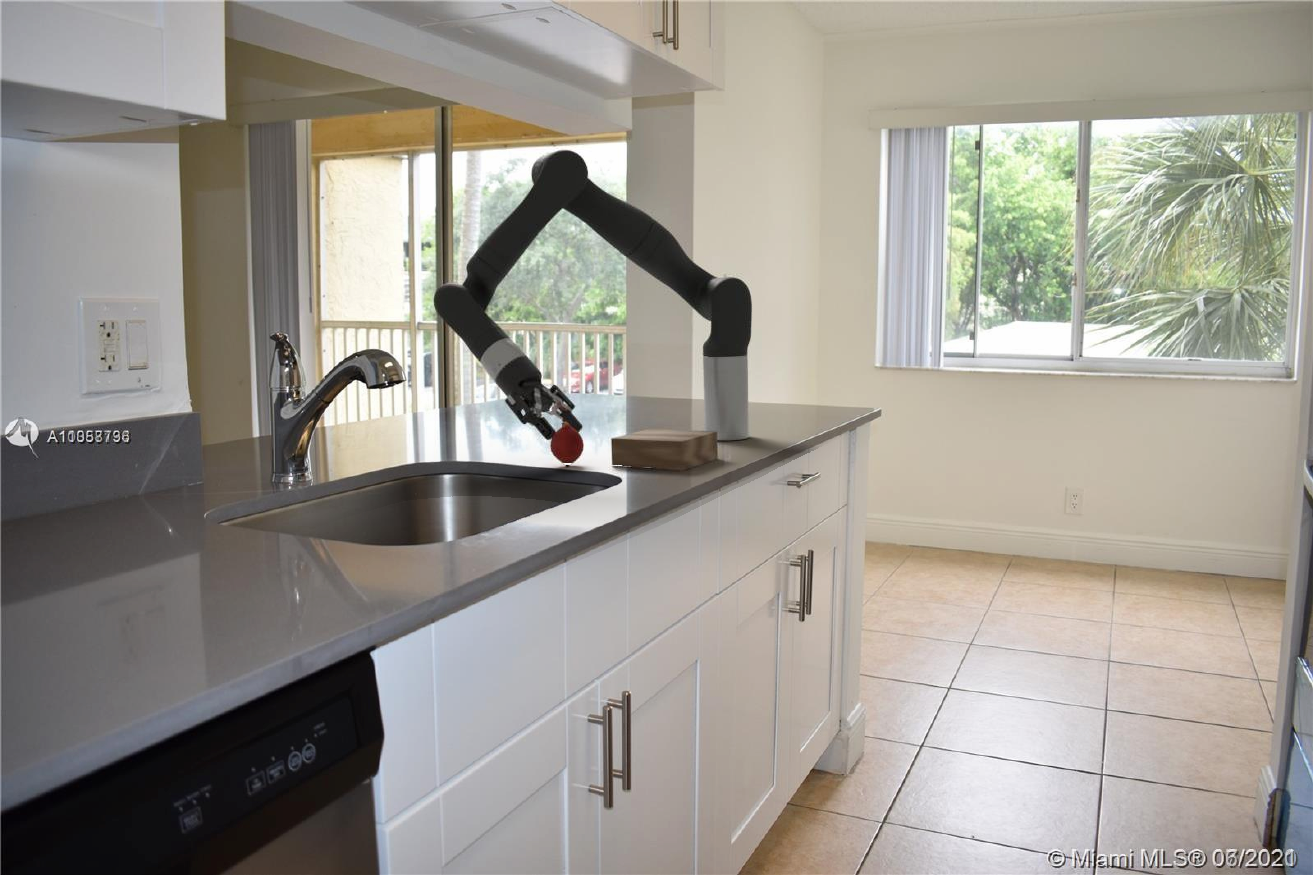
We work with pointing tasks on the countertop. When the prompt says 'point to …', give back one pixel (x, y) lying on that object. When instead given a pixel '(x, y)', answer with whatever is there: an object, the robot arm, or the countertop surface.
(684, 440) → the walnut base
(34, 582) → the countertop surface
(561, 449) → the onion
